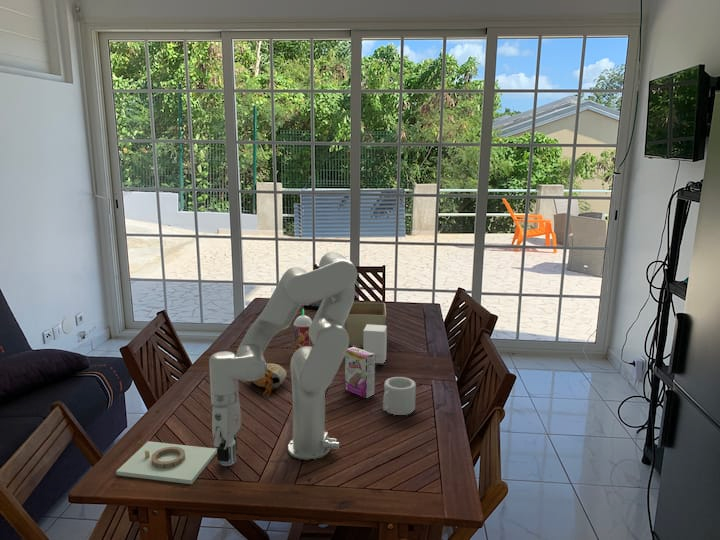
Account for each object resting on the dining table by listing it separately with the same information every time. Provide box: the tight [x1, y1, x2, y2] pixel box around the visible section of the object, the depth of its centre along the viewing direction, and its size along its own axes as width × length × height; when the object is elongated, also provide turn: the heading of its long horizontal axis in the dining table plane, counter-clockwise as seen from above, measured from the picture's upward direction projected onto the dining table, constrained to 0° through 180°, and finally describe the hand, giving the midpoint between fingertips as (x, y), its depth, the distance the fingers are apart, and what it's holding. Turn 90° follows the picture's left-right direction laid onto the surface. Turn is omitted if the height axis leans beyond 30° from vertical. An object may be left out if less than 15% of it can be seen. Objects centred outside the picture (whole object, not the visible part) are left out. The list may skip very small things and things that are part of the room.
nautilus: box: [251, 362, 287, 398], centre depth 205 cm, size 8×22×15 cm
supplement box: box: [362, 324, 388, 363], centre depth 231 cm, size 9×9×15 cm
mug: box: [382, 376, 417, 416], centre depth 188 cm, size 14×11×10 cm
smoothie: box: [293, 308, 313, 352], centre depth 239 cm, size 8×8×20 cm
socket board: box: [116, 440, 217, 485], centre depth 156 cm, size 22×16×3 cm
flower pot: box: [344, 302, 387, 346], centre depth 253 cm, size 19×19×17 cm
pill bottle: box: [218, 436, 237, 467], centre depth 156 cm, size 5×5×8 cm
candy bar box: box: [344, 346, 376, 399], centre depth 201 cm, size 11×5×16 cm, turn 47°
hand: (227, 454), depth 157 cm, fingers closed on pill bottle, 4 cm apart
